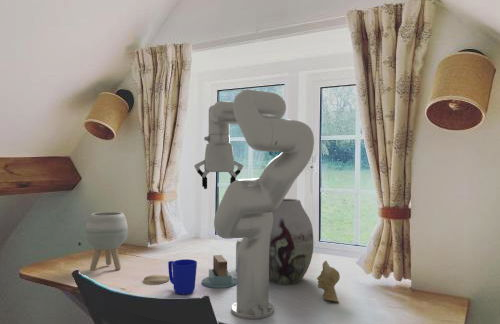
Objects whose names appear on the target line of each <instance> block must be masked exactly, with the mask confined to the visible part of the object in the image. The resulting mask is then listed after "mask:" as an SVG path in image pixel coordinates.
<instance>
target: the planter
mask: <svg viewBox="0 0 500 324" xmlns="http://www.w3.org/2000/svg"><path fill="white" fill-rule="evenodd" d="M128 226H129V225H128V221H127V217H126V215H125V214H124V213H123V212H122V211H99V212H93V213H91V214H90V215H89V217H88V219H87V221H86V226H85V238H86V241H87V243H88V244H89V245H90V246H91V247H92V248H93V250H94V252H93V256H92V260H91V263H90V268H89V271H90V272H94V271H96V269H97V266H98V263H99V260H100V256H101V254H102V251H104V252H105V264H106V265H107V266H111V265H112V261H113V265H114V268H115V270H116V271H119V270H121V263H120V262H121V261H120V256H119V251H118V249H119V248H120V246H121V245H122V244H123V243H124V242H125V241H126V239H127V237H128V234H129V233H128V232H129V227H128Z"/></svg>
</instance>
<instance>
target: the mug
mask: <svg viewBox="0 0 500 324" xmlns="http://www.w3.org/2000/svg"><path fill="white" fill-rule="evenodd" d="M167 264H168V266H167V267H168V276H169V282H170V283H171V284H172V285H173V290H174V292H175V294H176V295H177V294H178V295H189V294H191V293H193V292H194V291H195V287H196V279H197V278H196V276H197V268H198V262H197V260H194V259H187V258H185V259H178V260H169V261H168V262H167Z"/></svg>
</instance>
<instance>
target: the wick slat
mask: <svg viewBox="0 0 500 324" xmlns="http://www.w3.org/2000/svg"><path fill="white" fill-rule="evenodd" d="M212 260H213V263H212V264H213V265H212V269H214V270H215V272H216V273H217V275H218V276H227V270H228V261H227V259H225V258H224V256H223V255H222V254H218V255H217V254H215V255H213V259H212Z"/></svg>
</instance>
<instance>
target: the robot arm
mask: <svg viewBox="0 0 500 324" xmlns="http://www.w3.org/2000/svg"><path fill="white" fill-rule="evenodd" d="M286 110H287V104H286V101H285V100H284V98H283V97H282V96H280V95H279V94H278V93H274V92H269V91H263V90H255V89H244V90H243V89H242V90H241V91H239V92H238V93H237V94H236V96H235V97H234V100H233V101H227V100H219V101H217V102H214V104H213V105H210V107H208V135H207V136H204V141H206V142H207V143H206V146H205V152H204V160H202V161H200V162H198V163H196V164H194V168H195V170H196V173H197V174H198V175H199V176H200V177H201V182H202V183H201V185H202V186H201V187H203V189H204V190H207V189H208V176H207V175H209V173H229V175H230V178H229V179H230V184H228V186H227V188H226V189H225V192H224V194H223V197H222V199H221V200H220V203H219V205H218V207H217V210H216V212H215V214H214V215H215V216H214V219H213V220H214V221H213V227H214V231H215V233H216V235H217V236H219V237H220V239H225V240H230V239H242V241H241V243H240V245H239V247H238V251H237V268H236V279H237V284H236V302H234V303H232V305H230V306H231V307H230V309H231V310H230V311H231V313H232V314H233V315H234V316H236V317H238V318H243V319H249V320H258V319H259V320H260V319H265V318H267V317H270V316H271V315H273V314H274V312H275V311H274V309H275V308H274V305H273V304H272V303H270V302H269V301H270V300H269V299H270V297H269V291H270V289H269V288H270V280H269V246H270V236H271V231H272V226H273V214H272V212H273V211H275V210H276V209H277V208H278V207H279V205H280V204H281V202H282V201H283V199H286V198H285V197H286V196H287V195H288V192H289V191H290V189H291V188H292V186H293V184H294V183H295V181H296V180H297V179H298V177H299V176H300V174H302V172H303V171H304V169H305V168H306V167H307V166H308V164H309V162H310V161H311V159H312V155H313V153H314V148H315V136H314V133H313V131H312V128H311V127H310V126H309V125H308V124H307V123H306V122H305V123H304V122H303V121H300V120H295V119H287V118H283V117H284V116H285V114H286ZM230 125H238V127H239V128H240V130H241V133H242V135H243V137H244V140H245V142H246V143H247V144H248V146H249V147H250V148H251V149H252V150H254V151H258V152H272V153H273V152H274V153H275V152H278V153H279V152H280V154H279V155H277V156H275V157H274V158H273V159H271V160H270V161H269V162H268V164H266V166H265V167H264V169H263V171H262V172H261V175H260V176H259V177H256V178H240V179H236V178H237V176H238V175H240V173H241V171H242V169H243V168H244V166H243V164H241V163H240V162H238V161H236V160H235V155H234V148H233V147H234V146H233V144H231V142H230V141H231V140H230V139H231V138H230V137H231V136H230V135H231V134H230V133H231V129H230V128H231V127H230ZM201 166H203V167H204V171H202V170H201V168H200V167H201ZM235 166H236V167H237V169H236V170H235Z"/></svg>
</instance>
